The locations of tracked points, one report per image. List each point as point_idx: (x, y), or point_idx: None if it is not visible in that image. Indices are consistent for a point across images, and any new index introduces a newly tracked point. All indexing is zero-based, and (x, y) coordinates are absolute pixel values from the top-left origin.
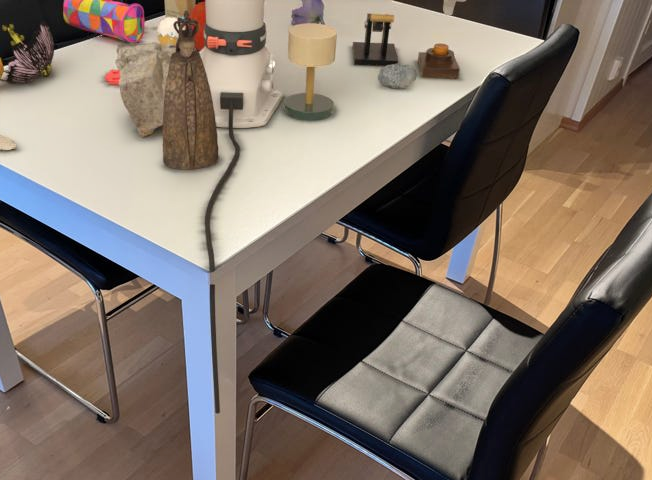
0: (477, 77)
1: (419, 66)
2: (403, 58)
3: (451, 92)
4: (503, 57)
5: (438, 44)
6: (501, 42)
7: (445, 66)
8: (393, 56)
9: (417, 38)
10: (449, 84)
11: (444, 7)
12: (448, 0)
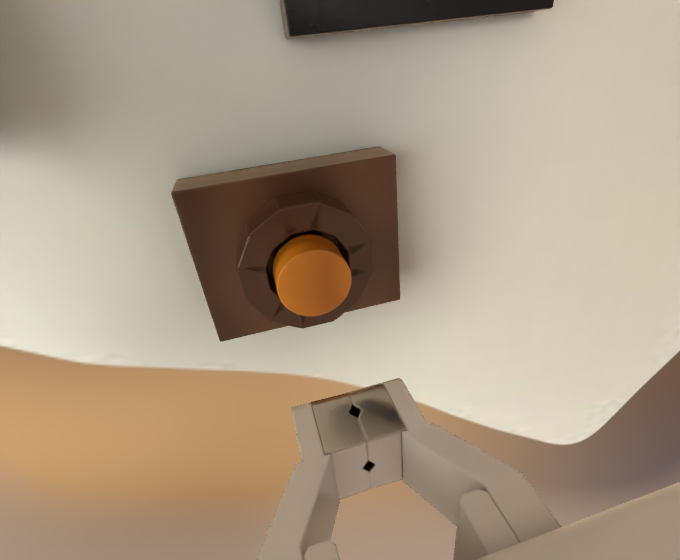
0: (266, 371)
1: (303, 159)
2: (414, 71)
3: (47, 314)
4: (461, 406)
5: (331, 268)
6: (576, 385)
7: (227, 288)
8: (356, 2)
9: (649, 131)
10: (144, 297)
11: (347, 423)
12: (269, 545)
